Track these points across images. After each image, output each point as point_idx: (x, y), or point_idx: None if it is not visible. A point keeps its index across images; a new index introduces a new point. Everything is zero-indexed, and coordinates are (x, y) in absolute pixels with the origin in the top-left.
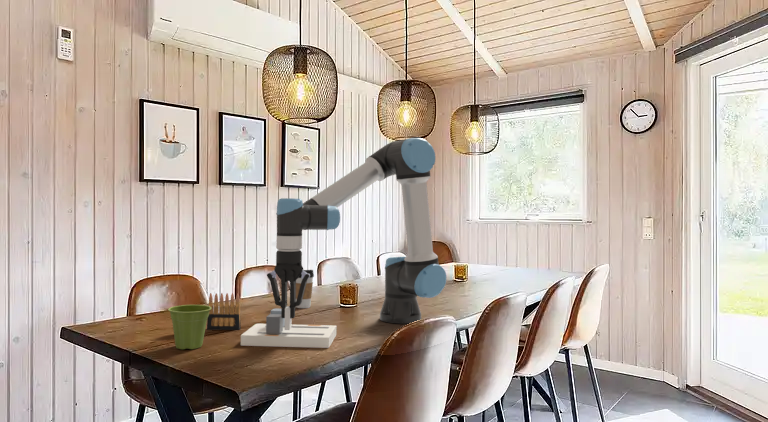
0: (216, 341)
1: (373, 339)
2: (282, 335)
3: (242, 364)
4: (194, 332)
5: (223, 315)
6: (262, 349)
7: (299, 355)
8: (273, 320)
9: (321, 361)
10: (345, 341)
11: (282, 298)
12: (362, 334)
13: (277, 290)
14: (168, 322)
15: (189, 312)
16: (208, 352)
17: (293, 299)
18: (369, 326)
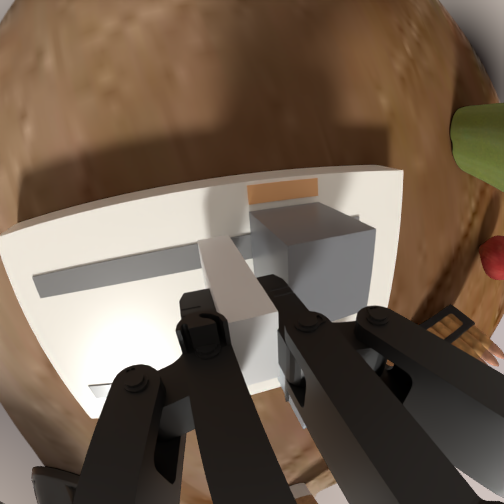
0: (435, 204)
1: None
2: (227, 205)
3: None
4: (490, 108)
5: (451, 339)
6: (283, 115)
7: (88, 65)
8: (319, 228)
9: (5, 40)
10: (21, 329)
11: (359, 377)
12: (39, 404)
13: (453, 430)
14: (483, 316)
15: None
16: (421, 78)
17: (199, 417)
18: (82, 456)
